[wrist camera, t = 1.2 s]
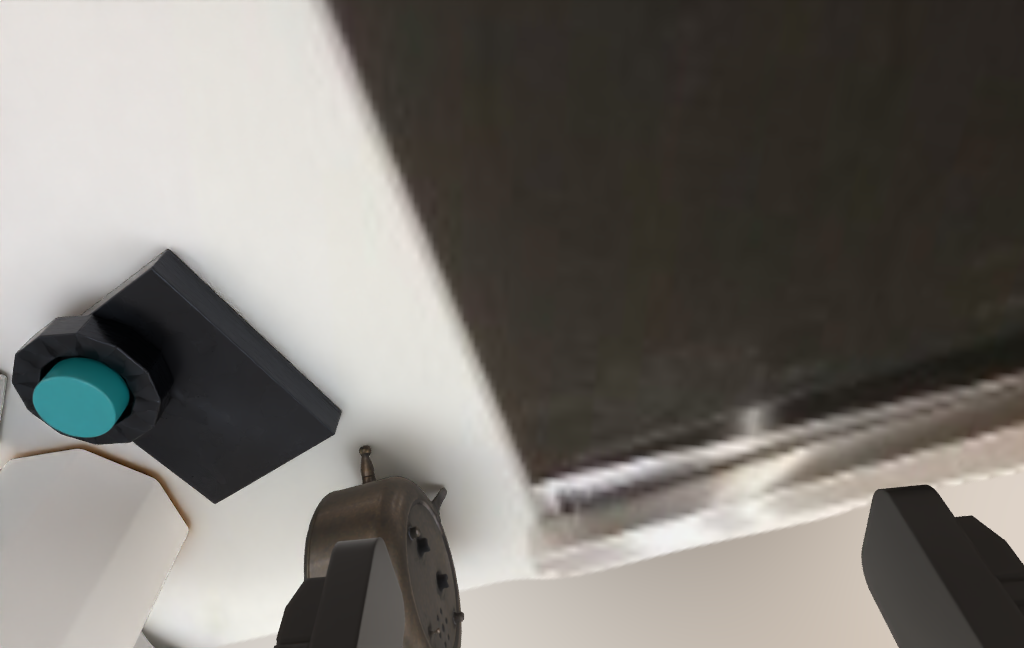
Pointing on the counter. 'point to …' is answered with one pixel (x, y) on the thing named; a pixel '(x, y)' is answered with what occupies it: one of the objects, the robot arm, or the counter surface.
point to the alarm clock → (395, 549)
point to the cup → (81, 550)
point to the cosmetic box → (2, 391)
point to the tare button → (81, 397)
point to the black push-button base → (187, 380)
